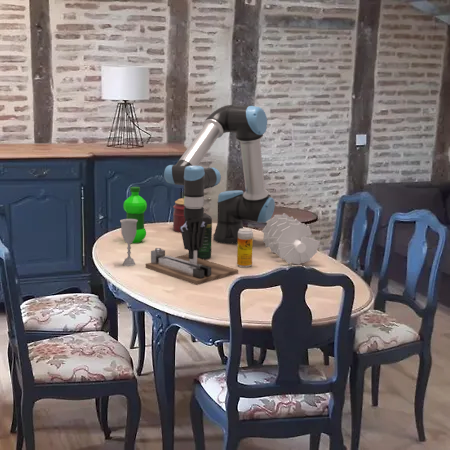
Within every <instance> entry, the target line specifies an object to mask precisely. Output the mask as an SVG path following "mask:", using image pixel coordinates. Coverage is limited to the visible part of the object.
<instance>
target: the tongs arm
mask: <svg viewBox="0 0 450 450" xmlns="http://www.w3.org/2000/svg"><path fill="white" fill-rule="evenodd" d="M175 257H176V256H171V255H166V254H165V256H164V258H167V259H170V260H173V261H176V262H180V263H183V264H186V265H189V266H192V267H196V268H199V269H202V270H204V275H205V276H210V275H211V267H208V266H204V265H201V264H197V263H193V262H190V261H186V260H182V259H179V258H175Z"/></svg>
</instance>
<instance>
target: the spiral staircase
mask: <svg viewBox="0 0 450 450" xmlns="http://www.w3.org/2000/svg"><path fill="white" fill-rule="evenodd" d="M261 232H262V233H263V238H262V243H264V245H265V248H269V249H270V252H271V253H274V254H276V255H277V256H278V257H279V259H282V260H284V261H285V262H286V263H287V264H288V265H290V264H295V265H299V266H300V265H301V264H304V263H308V262H310V261H311V259H312V258H313V257H314V256H315V255H316V254H317V253H318V249H319V244H320V243H321V241H320V240H316V239H315V238H312V237H310V236H311V235H312V230H311V228H310V225H307V226H306V224H305V223H302V222H301V221H299V220H298V218H295V219H294V217H293V216H289V215H288V214H287V213H285V212H284V213H282V214H274V215H273V217H271V219H270V220H268V221H266V225H265V226H264V227H263V229H262V230H261Z"/></svg>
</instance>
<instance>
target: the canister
mask: <svg viewBox="0 0 450 450" xmlns="http://www.w3.org/2000/svg"><path fill="white" fill-rule="evenodd" d="M174 203H175V204H174V205H173V206H172V208H173V213H172V215H173V216H172V217H173V219H172V220H173V221H172V222H173V224H172V230H173V231H174V232H176V233H181V231H180V229H179V227H180V226H183V225H184V221H185V217H184V208H185V207H186V206H184V197H183V198H178V199H177V200H175V201H174Z"/></svg>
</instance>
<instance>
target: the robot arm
mask: <svg viewBox="0 0 450 450" xmlns="http://www.w3.org/2000/svg"><path fill="white" fill-rule="evenodd" d="M267 125H268V118H267V114H266V112H265V110H264V109H263V108H262V107H260V106H255V105H238V104H236V105H233V104H226V105H224V106H221V107H219V108H217V109H216V110H214V111H213V112H211V113H210V114H209V115H208V116H207V117H206V119H204V121H203V123H202V128H201V129H200V131H199V132H198V134H197V135H196V137H194V139H193V140H192V142H191V143H190V144H189V146H188V147H187V149H186V150H185V152H184V153H183V154H182V156H181V157H180V158H179V160H178V161H177V163H175V164H169V165H167V166H165V168H164V172H163V177H164V180H165V182H166V183H167V184H171V185H175V186H176V185H178V186H183V189H184V190H183V194H184V195H183V198H184V206H186V207H185V208H184V217H185V221H184V225H183V226H180V227H179V229H180V231H181V232H180V233H181V238H182V243H183V248H184V250H186V251H188V255H189V259H190V262H193V263H197V258H198V250H200V249H199V248H202V246H203V241H204V236H205V230H206V227H207V225H208V223H205V222H203V219H202V217H203V216H204V213H205V212H204V211H205V210H204V209H205V208H204V205H205V201H204V200H205V189H210V188H214V187H216V186H217V185H219V184H220V182H221V178H222V177H221V172H220V171H219V170H218V169H217V168H216V167H206V168H205V167H204V166H201V165H200V163H201V162H202V160H203V159H204V157H205V156H206V154H208V153H209V152H208V151H210V149H211V148H212V146H213V145H214V143H215V142H216V141H217V139H220V138H221V137H222V136H223V135H224V134H225V133H232V134H233V133H234V134H235V138H236V140H237V141H239V142H240V145H239V146H240V151H241V152H240V153H241V160H242V161H241V163H242V170H243V178H244V187H245V191H243V190H242V189H241V190H238V189H237V190H235V189H234V190H225V191H222V192H220V193H219V194H218V195H217V196H218V197H217V223H216V227H215V230H214V233H213V235H212V236H213V237H212V238H213V239H212V240H213V241H214V242H215V243H220V244H227V245H228V244H229V245H232V244H238V231H239V229H242V228H244V224H243V221H248V222H253V223H254V222H255V223H262V224H263V223H264V224H265V223H266V221H268V220H270V219H272V218H273V216H274V215H273V214H274V212H275V207H276V204H275V202H276V201H275V199H274V198H273V197H271V196H270V193H269V191H268V190H267V189H266V188H265V186H266V185H265V179H264V168H263V167H264V166H263V157H262V155H263V154H262V149H261V147H262V146H261V139H262V138H263V137H264V134H265V133H266V132H267V128H268V126H267ZM266 224H267V223H266Z"/></svg>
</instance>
